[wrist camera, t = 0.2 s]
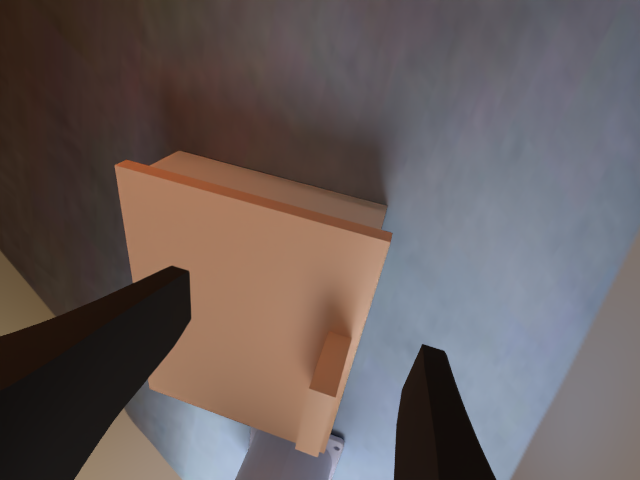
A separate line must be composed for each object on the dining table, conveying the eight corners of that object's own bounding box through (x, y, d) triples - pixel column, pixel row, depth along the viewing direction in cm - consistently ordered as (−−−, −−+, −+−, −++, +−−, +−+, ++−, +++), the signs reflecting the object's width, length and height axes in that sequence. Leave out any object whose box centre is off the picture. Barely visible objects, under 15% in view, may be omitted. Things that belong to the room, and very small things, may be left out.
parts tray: (333, 392, 28) (321, 435, 25) (189, 342, 30) (162, 377, 27) (387, 205, 19) (378, 239, 16) (178, 150, 21) (137, 171, 18)
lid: (328, 435, 26) (308, 512, 22) (161, 374, 27) (114, 434, 24) (393, 227, 16) (378, 294, 12) (133, 156, 18) (48, 195, 14)
